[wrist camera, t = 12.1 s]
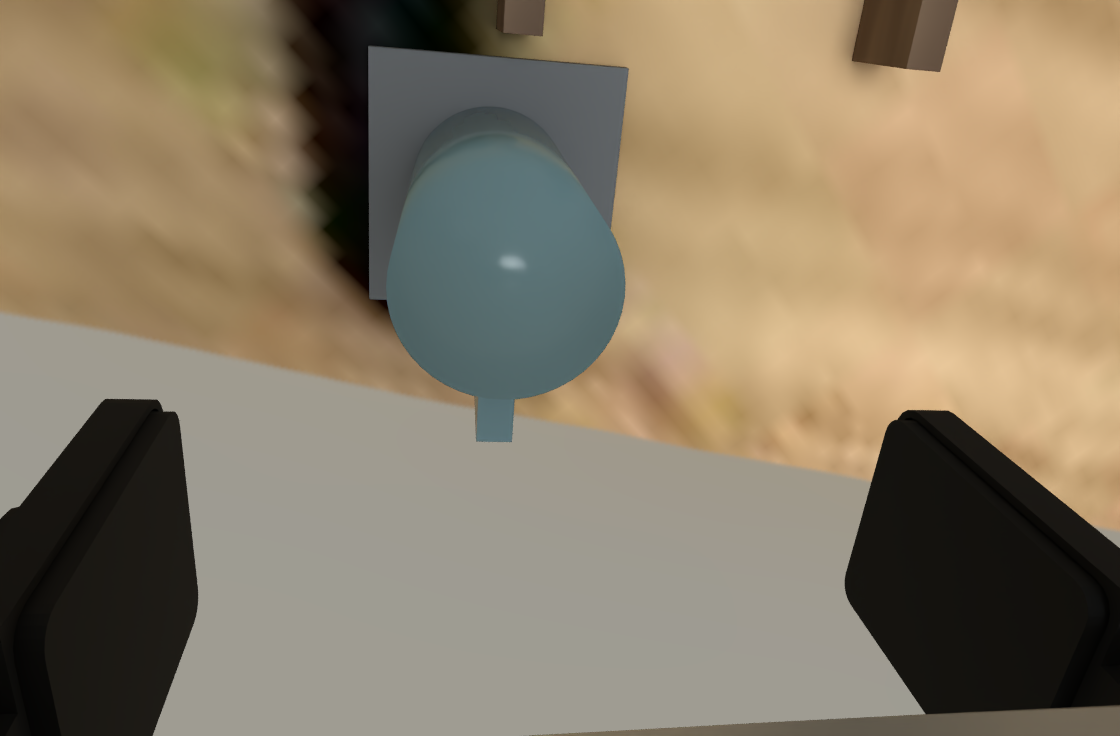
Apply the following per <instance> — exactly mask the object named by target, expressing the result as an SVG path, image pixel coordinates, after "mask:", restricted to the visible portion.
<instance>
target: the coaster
mask: <svg viewBox="0 0 1120 736" xmlns="http://www.w3.org/2000/svg"><path fill="white" fill-rule="evenodd" d="M628 71H629V69H628V68H626V67H615V66H604V65H592V64H580V63H569V62H557V61H545V60H534V59H522V58H510V57H498V56H487V55H475V54H463V53H452V52H440V51H428V50H416V49H405V48H393V47H381V46H368V84H369V299H378V300H387V293H386V282H387V271H388V266H389V261H390V256H391V253H392V249H393V245H394V241H395V237H396V234H397V230H398V226H399V222H400V218H401V214H402V211H403V207H404V203H405V199H406V195H407V192H408V188H409V184H410V180H411V176H412V172H413V169H414V165H415V161H416V158H417V156H418V153H419V151H420V149H421V147H422V145H423V143H424V141H425V140H426V139H427V137H428V136H429V134H430V133H431V132H432V131H433V130H434V129H435V128H436V127H437V126H438V125H439V124H441V123H442V122H443V121H444V120H446V119H447V118H449V117H451V116H452V115H454V114H457V113H459V112H461V111H464V110H467V109H471V108H476V107H500V108H506V109H509V110H513V111H516V112H518V113H520V114H523V115H525V116H526V117H528V118H530V119H531V120H533V121H534V122H535V123H537V124H538V125H539V126H540V127H541V128H542V129H543V130H544V131H545V132H546V133H547V134H548V135H549V136H550V138H551V139H552V141H553V142H554V143H555V145H556V146H557V148H558V150H559V151H560V153H561V154H562V156H563V157H564V159H565V160H566V162H567V163H568V165H569V166H570V168H571V170H572V171H573V173H574V174H575V176H576V177H577V179H578V180H579V182H580V183H581V185H582V186H583V188H584V190H585V191H586V193H587V194H588V196H589V197H590V199H591V200H592V202H593V203H594V205H595V206H596V208H597V210H598V211H599V213H600V214H601V216H602V217H603V219H604V220H605V222H606V223H607V225H608V227H609V228H610V230H611V221H612V212H613V203H614V195H615V186H616V177H617V168H618V159H619V150H620V141H621V133H622V124H623V115H624V106H625V97H626V88H627V79H628Z"/></svg>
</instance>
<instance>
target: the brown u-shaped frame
mask: <svg viewBox="0 0 1120 736" xmlns="http://www.w3.org/2000/svg"><path fill="white" fill-rule="evenodd" d="M957 3H958V0H865V2H864V7H863V12H862V16H861V21H860V26H859V31H858V35H857V40H856V45H855V49H854V54H853V59H852V61H857V62H863V63H870V64H877V65H883V66H890V67H897V68H903V69H913V70H924V71H935V72H940V70H941V66H942V62H943V58H944V54H945V50H946V46H947V42H948V39H949V35H950V31H951V27H952V23H953V19H954V15H955V11H956V7H957ZM544 10H545V0H498V6H497V25H496V29H498V30H499V31H501V32H503V33H512V34H523V35H534V36H543V24H544Z"/></svg>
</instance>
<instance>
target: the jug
mask: <svg viewBox="0 0 1120 736" xmlns="http://www.w3.org/2000/svg"><path fill="white" fill-rule="evenodd" d="M386 293H387V304H388V309H389V313H390V318H391V320H392V323H393V326H394V329H395V331H396V333H397V335H398V337H399V339H400V341H401V343H402V344H403V346H404V347H405V349H406V350H407V351H408V353H409V354H410V356H411V357H412V358H413V359H414V360H415V361H416V362H417V363H418V364H419V366H420V367H421V368H423V369H424V370H425V371H426V372H427V373H429V374H430V375H431V376H432V377H434V378H435V379H437V380H439V381H440V382H442V383H443V384H445V385H447V386H449V387H451V388H453V389H455V390H458V391H460V392H463V393H466V394H469V395H472V396H474V399H475V424H476V441H482V442H483V441H485V442H512V431H513V415H514V400H515V399H520V398H527V397H532V396H536V395H539V394H543V393H546V392H549V391H551V390H554V389H556V388H558V387H560V386H562V385H564V384H566V383H567V382H569V381H571V380H573V379H574V378H575V377H577V376H578V375H579V374H581V373H582V372H584V371H585V370H586V369H587V368H588V367H589V366H590V365H591V364H592V363H593V362H594V361H595V360H596V359H597V358H598V356H599V355H600V354H601V353H602V352H603V350H604V349H605V347H606V346H607V344H608V343H609V341H610V340H611V338H612V336H613V334H614V332H615V330H616V327H617V325H618V322H619V319H620V316H621V313H622V309H623V303H624V298H625V272H624V265H623V261H622V256H621V253H620V250H619V247H618V245H617V242H616V239H615V238H614V236H613V234H612V232H611V230H610V228H609V227H608V225H607V223H606V222H605V220H604V219H603V217H602V216H601V214H600V213H599V211H598V210H597V208H596V206H595V205H594V203H593V202H592V200H591V199H590V197H589V196H588V194H587V193H586V191H585V190H584V188H583V186H582V185H581V183H580V182H579V180H578V179H577V177H576V176H575V174H574V173H573V171H572V170H571V168H570V166H569V165H568V163H567V162H566V160H565V159H564V157H563V156H562V154H561V153H560V151H559V150H558V148H557V146H556V145H555V143H554V142H553V141H552V139H551V138H550V136H549V135H548V134H547V133H546V132H545V131H544V130H543V129H542V128H541V127H540V126H539V125H538V124H537V123H535V122H534V121H533V120H531V119H530V118H528V117H526V116H525V115H523V114H520V113H518V112H516V111H513V110H509V109H506V108H500V107H476V108H471V109H467V110H464V111H461V112H459V113H457V114H454V115H452V116H451V117H449V118H447V119H446V120H444V121H443V122H442V123H441V124H439V125H438V126H437V127H436V128H435V129H434V130H433V131H432V132H431V133H430V134H429V136H428V137H427V139H426V140H425V141H424V143H423V145H422V147H421V149H420V151H419V153H418V156H417V158H416V161H415V165H414V169H413V172H412V176H411V180H410V184H409V188H408V192H407V195H406V199H405V203H404V207H403V211H402V214H401V218H400V222H399V226H398V230H397V234H396V237H395V241H394V245H393V249H392V253H391V256H390V261H389V266H388V271H387V282H386Z"/></svg>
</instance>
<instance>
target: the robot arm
mask: <svg viewBox="0 0 1120 736" xmlns="http://www.w3.org/2000/svg"><path fill="white" fill-rule="evenodd" d="M845 591H846V595H847V598H848V600H849V602H850V604H851V605H852V607H853V609H854V610H855V612H856V613H857V614H858V616H859V617H860V619H861V620H862V622H863V623H864V625H865V626H866V628H867V629H868V630H869V632H870V633H871V635H872V636H873V638H874V639H875V641H876V642H877V644H878V645H879V647H880V648H881V649H882V651H883V652H884V654H885V655H886V657H887V658H888V660H889V661H890V663H891V664H892V666H893V667H894V668H895V670H896V671H897V673H898V674H899V676H900V677H901V678H902V680H903V682H904V683H905V685H906V686H907V687H908V689H909V690H910V692H911V693H912V695H913V696H914V698H915V699H916V701H917V702H918V703H919V705H920V706H921V708H922V709H923V711H924V712H925V714H923V715H904V716H885V717H864V718H847V719H846V718H845V719H827V720H807V721H787V722H768V723H749V724H732V725H713V726H696V727H677V728H659V729H643V730H642V729H641V730H625V731H606V732H588V733H569V734H549V735H532V736H1120V548H1119V547H1117V546H1116V545H1115V544H1114V543H1113V542H1111V541H1110V540H1109V539H1107V538H1106V537H1105V536H1104V535H1103V534H1101V533H1100V532H1099V531H1098V530H1097V529H1095V528H1094V527H1093V526H1092V525H1090V524H1089V523H1088V522H1087V521H1085V520H1084V519H1083V518H1082V517H1080V516H1079V515H1078V514H1077V513H1076V512H1074V511H1073V510H1072V509H1071V508H1069V507H1068V506H1067V505H1066V504H1064V503H1063V502H1062V501H1061V500H1060V499H1058V498H1057V497H1056V496H1055V495H1053V494H1052V493H1051V492H1050V491H1048V490H1047V489H1046V488H1045V487H1043V486H1042V485H1041V484H1040V483H1039V482H1037V481H1036V480H1035V479H1034V478H1032V477H1031V476H1030V475H1029V474H1027V473H1026V472H1025V471H1024V470H1023V469H1021V468H1020V467H1019V466H1018V465H1016V464H1015V463H1014V462H1013V461H1011V460H1010V459H1009V458H1008V457H1006V456H1005V455H1004V454H1003V453H1002V452H1000V451H999V450H998V449H997V448H995V447H994V446H993V445H992V444H990V443H989V442H988V441H987V440H985V439H984V438H983V437H982V436H981V435H979V434H978V433H977V432H976V431H974V430H973V429H972V428H971V427H969V426H968V425H967V424H966V423H965V422H963V421H962V420H961V419H960V418H958V417H957V416H956V415H955V414H953V413H951V412H949V411H933V410H907V411H905V412H903V413H902V414H901V416H900V417H899V418H898V420H894V421H892V422H891V423H890V424H889V425H888V427H887V430H886V432H885V436H884V440H883V443H882V447H881V450H880V454H879V457H878V461H877V464H876V468H875V472H874V475H873V479H872V482H871V486H870V489H869V493H868V497H867V501H866V504H865V507H864V511H863V515H862V518H861V522H860V526H859V529H858V532H857V536H856V539H855V543H854V546H853V550H852V554H851V557H850V561H849V564H848V568H847V571H846V576H845ZM197 606H198V586H197V577H196V568H195V559H194V550H193V540H192V531H191V523H190V513H189V504H188V495H187V486H186V477H185V468H184V459H183V450H182V441H181V432H180V424H179V419H178V416H177V414H176V412H163V409H162V407H161V404H160V402H159V401H158V400H141V399H139V400H136V399H105V400H104V401H103V402H101V404H100V405H99V406H98V407H97V409H96V410H95V411H94V413H93V414H92V415H91V416H90V418H89V419H88V420H87V421H86V423H85V424H84V425H83V426H82V428H81V429H80V431H79V432H78V433H77V434H76V435H75V437H74V438H73V439H72V441H71V442H70V443H69V444H68V445H67V447H66V448H65V449H64V451H63V452H62V453H61V454H60V456H59V457H58V458H57V459H56V461H55V462H54V463H53V465H52V466H51V467H50V469H49V470H48V471H47V472H46V473H45V475H44V476H43V477H42V479H41V480H40V481H39V483H38V484H37V485H36V486H35V487H34V489H33V490H32V491H31V493H30V494H29V495H28V496H27V498H26V499H25V500H24V501H23V503H22V504H21V505H20V506H19V507H16V508H12V509H10V510H9V511H8V512H7V513H6V514H5V515H4V516H3V517H2V518H1V519H0V736H153V733H154V730H155V727H156V725H157V722H158V719H159V717H160V714H161V711H162V708H163V705H164V703H165V700H166V697H167V695H168V692H169V689H170V687H171V684H172V681H173V679H174V675H175V673H176V670H177V667H178V665H179V662H180V659H181V657H182V654H183V651H184V649H185V646H186V643H187V640H188V638H189V635H190V632H191V630H192V627H193V624H194V621H195V617H196V613H197Z"/></svg>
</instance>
